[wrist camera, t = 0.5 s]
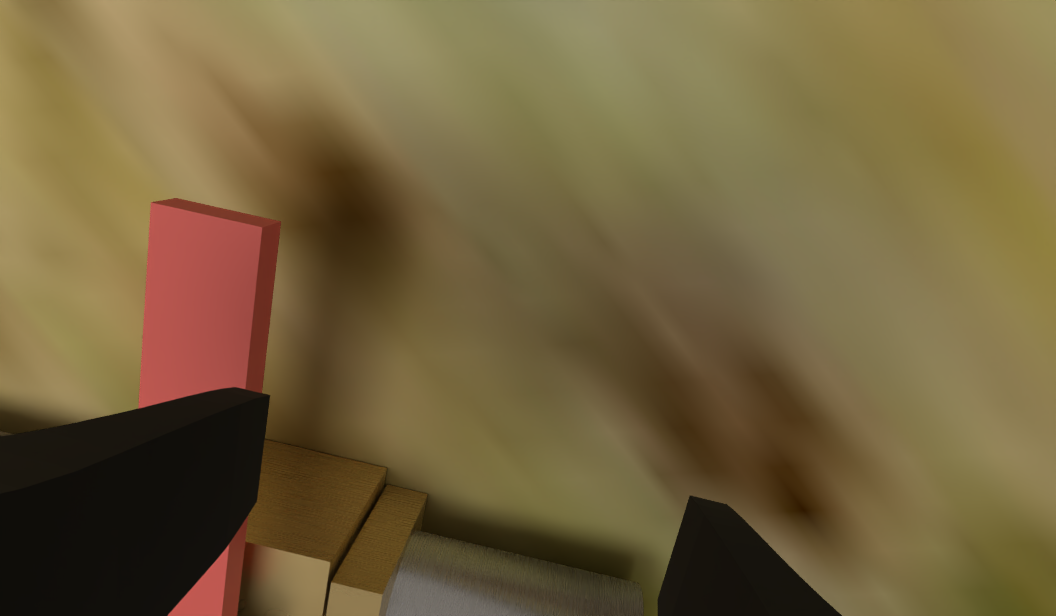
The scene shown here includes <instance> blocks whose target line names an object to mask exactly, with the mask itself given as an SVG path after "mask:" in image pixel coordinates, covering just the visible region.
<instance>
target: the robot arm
mask: <svg viewBox="0 0 1056 616" xmlns="http://www.w3.org/2000/svg"><path fill="white" fill-rule="evenodd" d="M269 399H270V395H267V394H263V393H259V392H254V391H250V390H246V389H242V388H238V387H231V388H223V389H217V390H212V391H207V392H203V393H199V394H194V395H190V396H186V397H182V398H178V399H174V400H170V401H166V402H162V403H158V404H154V405H151V406H147V407H143V408H139V409H135V410H131V411H127V412H122V413H118V414H113V415H109V416H104V417H100V418H95V419H90V420H86V421H81V422H77V423H72V424H68V425H63V426H58V427H53V428H48V429H42V430H37V431H31V432H25V433H19V434H12V435H5V436H0V616H168V614H169V613H170V612H171V611H172V610H173V609H174V608H175V607H176V605H177V604H178V603H179V602H180V601H181V600H182V599H183V598H184V596H185V595H186V594H187V593H188V592H189V591H190V590H191V589H192V587H193V586H194V585H195V584H196V583H197V582H198V581H199V579H200V578H201V577H202V576H203V575H204V574H205V573H206V571H207V570H208V569H209V568H210V567H211V566H212V564H213V563H214V562H215V561H216V560H217V559H218V558H219V556H220V555H221V554H222V553H223V552H224V550H225V549H226V548H227V546H228V545H229V543H230V542H231V541H232V539H233V538H234V536H235V535H236V533H237V532H238V530H239V529H240V527H241V526H242V524H243V523H244V521H245V519H246V518H247V516H248V515H249V513H250V512H251V510H252V508H253V507H254V505H255V504H256V502H257V497H258V489H259V481H260V473H261V465H262V456H263V448H264V440H265V432H266V424H267V415H268V407H269ZM658 616H842V615H841V614H840V613H839V612H837V611H836V610H835V609H834V608H833V607H832V606H831V605H830V604H829V603H827V602H826V601H825V600H824V599H823V598H822V597H821V596H820V595H819V594H818V593H817V592H816V591H814V590H813V589H812V588H811V587H810V586H809V585H808V584H807V583H806V582H805V581H804V580H803V579H802V578H801V577H800V576H799V575H798V574H797V573H796V572H795V571H794V570H793V569H792V568H791V567H790V566H789V565H788V564H787V563H786V562H785V561H784V560H783V559H782V558H781V557H780V556H779V555H778V554H777V553H776V552H775V551H774V550H773V549H772V548H771V547H770V546H769V545H768V544H767V543H766V542H765V541H764V540H763V539H762V538H761V537H760V536H759V535H758V533H757V532H756V531H755V530H754V529H753V528H752V527H751V526H750V525H749V524H748V523H747V522H746V521H745V520H744V519H743V518H742V517H741V516H739V515H738V514H737V513H736V512H735V511H734V510H733V509H732V508H730V507H729V506H728V505H727V504H723V503H719V502H715V501H711V500H707V499H702V498H698V497H694V496H690V497H689V500H688V503H687V506H686V510H685V513H684V516H683V519H682V523H681V526H680V529H679V532H678V535H677V539H676V542H675V545H674V548H673V552H672V555H671V558H670V561H669V564H668V568H667V571H666V574H665V577H664V581H663V584H662V587H661V590H660V593H659V597H658Z"/></svg>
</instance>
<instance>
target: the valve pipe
mask: <svg viewBox="0 0 1056 616" xmlns="http://www.w3.org/2000/svg"><path fill="white" fill-rule="evenodd" d="M5 435H12V434H11V433H7V432H2V431H0V436H5ZM386 472H387V468H384V467H380V466H376V465H372V464H367V463H363V462H359V461H355V460H350V459H346V458H342V457H338V456H333V455H329V454H325V453H321V452H316V451H312V450H308V449H304V448H299V447H295V446H291V445H287V444H282V443H278V442H274V441H270V440H264V448H263V456H262V465H261V473H260V481H259V489H258V497H257V502H256V504H255V505H254V507H253V508H252V510H251V512H250V513H249V515H248V522H247V531H246V540H245V549H244V558H243V567H242V576H241V585H240V594H239V603H238V612H237V616H643V613H644V612H643V596H642V590H641V587H640V585H639V583H637V582H632V581H628V580H624V579H620V578H616V577H611V576H607V575H603V574H599V573H595V572H590V571H586V570H582V569H578V568H574V567H569V566H565V565H561V564H557V563H553V562H548V561H544V560H540V559H536V558H532V557H527V556H523V555H519V554H515V553H511V552H506V551H502V550H498V549H494V548H490V547H485V546H481V545H477V544H473V543H469V542H464V541H460V540H456V539H452V538H448V537H443V536H439V535H435V534H431V533H427V532H422V531H421V527H422V522H423V517H424V512H425V506H426V501H427V496H428V494H425V493H421V492H417V491H413V490H408V489H404V488H400V487H396V486H391V485H387V486H386V488H385V490H384V484H385V478H386ZM383 490H384V491H383Z"/></svg>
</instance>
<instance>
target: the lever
mask: <svg viewBox="0 0 1056 616" xmlns="http://www.w3.org/2000/svg"><path fill="white" fill-rule="evenodd" d="M280 226H281V221H276V220H272V219H267V218H263V217H258V216H254V215H249V214H245V213H240V212H236V211H231V210H227V209H222V208H218V207H214V206H209V205H205V204H200V203H196V202H191V201H187V200H182V199H178V198H174V199H168V200H162V201H156V202H151V211H150V227H149V244H148V260H147V277H146V293H145V310H144V327H143V343H142V360H141V376H140V393H139V408H143V407H147V406H151V405H154V404H158V403H162V402H166V401H170V400H174V399H178V398H182V397H186V396H190V395H194V394H199V393H203V392H207V391H212V390H217V389H223V388H231V387H238V388H242V389H246V390H250V391H254V392H259V393H262V388H263V379H264V370H265V361H266V352H267V343H268V334H269V325H270V316H271V307H272V298H273V289H274V280H275V271H276V262H277V253H278V244H279V235H280ZM247 522H248V516H247V518H246V519H245V521H244V523H243V524H242V526H241V527H240V529H239V530H238V532H237V533H236V535H235V536H234V538H233V539H232V541H231V542H230V543H229V545H228V546H227V548H226V549H225V550H224V552H223V553H222V554H221V555H220V556H219V558H218V559H217V560H216V561H215V562H214V563H213V564H212V566H211V567H210V568H209V569H208V570H207V571H206V573H205V574H204V575H203V576H202V577H201V578H200V579H199V581H198V582H197V583H196V584H195V585H194V586H193V587H192V589H191V590H190V591H189V592H188V593H187V594H186V595H185V596H184V598H183V599H182V600H181V601H180V602H179V603H178V604H177V605H176V607H175V608H174V609H173V610H172V611H171V612H170V613H169V614H168V616H237V612H238V603H239V594H240V585H241V576H242V567H243V558H244V549H245V540H246V531H247Z"/></svg>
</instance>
